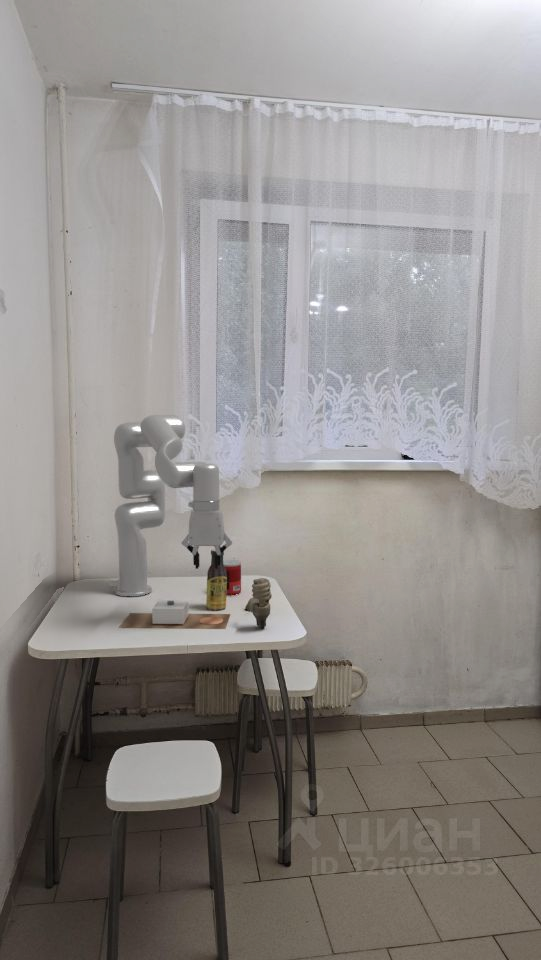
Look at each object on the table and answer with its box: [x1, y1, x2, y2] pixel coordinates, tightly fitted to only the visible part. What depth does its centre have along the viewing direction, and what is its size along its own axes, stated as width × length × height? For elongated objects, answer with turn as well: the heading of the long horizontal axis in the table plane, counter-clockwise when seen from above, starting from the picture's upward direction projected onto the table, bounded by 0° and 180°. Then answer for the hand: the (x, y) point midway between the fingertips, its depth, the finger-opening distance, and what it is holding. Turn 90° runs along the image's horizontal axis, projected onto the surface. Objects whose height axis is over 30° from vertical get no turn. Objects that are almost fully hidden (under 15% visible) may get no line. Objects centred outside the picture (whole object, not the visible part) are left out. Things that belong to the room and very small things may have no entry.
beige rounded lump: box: [244, 591, 273, 613], centre depth 207 cm, size 6×8×10 cm
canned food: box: [223, 559, 242, 596], centre depth 227 cm, size 8×8×11 cm
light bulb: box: [251, 577, 272, 630], centre depth 189 cm, size 6×6×15 cm
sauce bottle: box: [205, 548, 227, 612], centre depth 205 cm, size 7×6×20 cm
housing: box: [151, 599, 190, 624], centre depth 193 cm, size 9×9×5 cm
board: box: [117, 612, 231, 630], centre depth 193 cm, size 31×14×1 cm, turn 88°
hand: (207, 567), depth 191 cm, fingers open, 5 cm apart
